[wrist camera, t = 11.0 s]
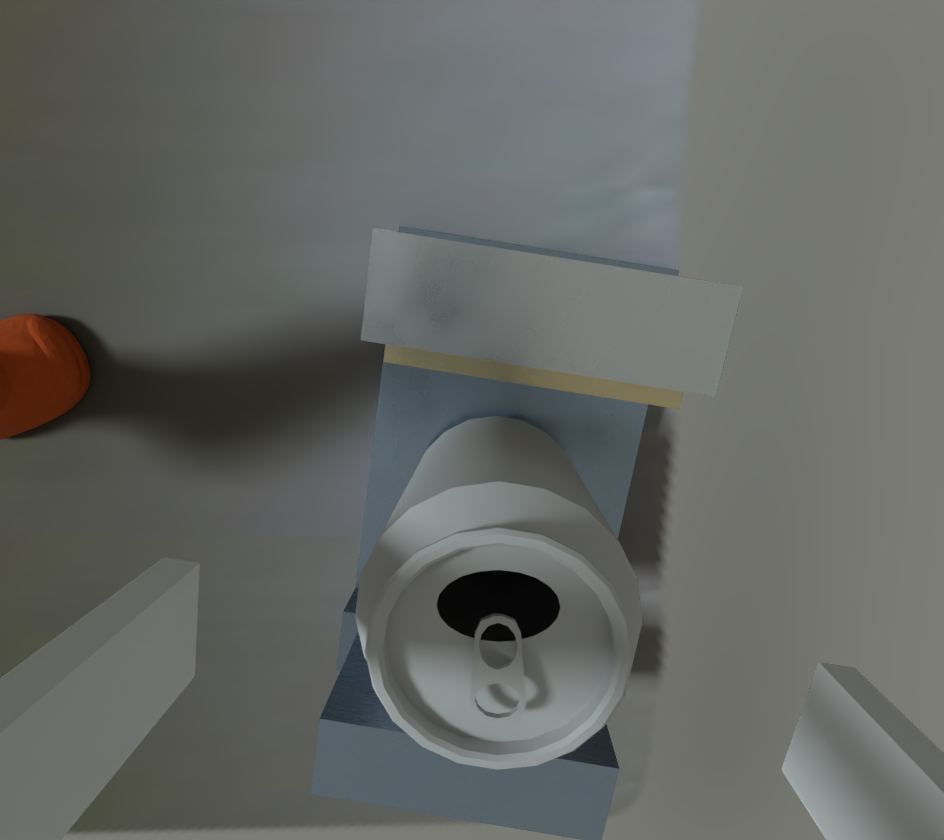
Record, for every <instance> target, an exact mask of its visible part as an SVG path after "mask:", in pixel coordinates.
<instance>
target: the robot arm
mask: <svg viewBox="0 0 944 840" xmlns="http://www.w3.org/2000/svg"><path fill="white" fill-rule="evenodd" d="M199 565H200V563H195V562H189V561H182V560H176V559H170V558H164V557H163V558H162V559H161V560H159V561H158V562H157V563H155V564H154V565H153V566H151V567H150V568H149V569H147V570H146V571H145V572H143V573H142V574H141V575H139V576H138V577H136V578H135V579H134V580H132V581H131V582H130V583H128V584H127V585H126V586H124V587H123V588H122V589H120V590H119V591H118V592H116V593H115V594H114V595H112V596H111V597H109V598H108V599H107V600H105V601H104V602H103V603H101V604H100V605H99V606H97V607H96V608H95V609H93V610H92V611H91V612H89V613H88V614H86V615H85V616H84V617H82V618H81V619H80V620H78V621H77V622H76V623H74V624H73V625H72V626H70V627H69V628H68V629H66V630H65V631H64V632H62V633H61V634H59V635H58V636H57V637H55V638H54V639H53V640H51V641H50V642H49V643H47V644H46V645H45V646H43V647H42V648H41V649H39V650H38V651H37V652H35V653H34V654H32V655H31V656H30V657H28V658H27V659H26V660H24V661H23V662H22V663H20V664H19V665H18V666H16V667H15V668H14V669H12V670H11V671H10V672H8V673H7V674H5V675H4V676H3V677H1V678H0V840H61V839H62V838H63V837H64V835H65V834H66V833H67V832H68V831H69V829H70V828H71V827H72V826H73V824H74V823H75V822H76V821H77V820H78V818H79V817H80V816H81V815H82V813H83V812H84V811H85V810H86V809H87V807H88V806H89V805H90V804H91V802H92V801H93V800H94V799H95V798H96V796H97V795H98V794H99V793H100V791H101V790H102V789H103V788H104V787H105V785H106V784H107V783H108V782H109V780H110V779H111V778H112V777H113V775H114V774H115V773H116V772H117V771H118V769H119V768H120V767H121V766H122V764H123V763H124V762H125V761H126V760H127V758H128V757H129V756H130V755H131V753H132V752H133V751H134V750H135V749H136V747H137V746H138V745H139V744H140V742H141V741H142V740H143V739H144V738H145V736H146V735H147V734H148V733H149V731H150V730H151V729H152V728H153V727H154V725H155V724H156V723H157V722H158V720H159V719H160V718H161V717H162V716H163V714H164V713H165V712H166V711H167V709H168V708H169V707H170V706H171V705H172V703H173V702H174V701H175V700H176V698H177V697H178V696H179V695H180V694H181V692H182V691H183V690H184V689H185V687H186V686H187V685H188V684H189V683H190V681H191V680H192V679H193V678H194V676H195V659H196V635H197V612H198V588H199ZM782 772H783V773H784V775H785V776H786V778H787V779H788V781H789V782H790V784H791V786H792V787H793V789H794V790H795V792H796V793H797V795H798V796H799V798H800V800H801V801H802V803H803V804H804V806H805V807H806V809H807V810H808V812H809V814H810V815H811V817H812V818H813V819H814V821H815V823H816V824H817V826H818V827H819V829H820V831H821V832H822V834H823V835H824V837H825V838H826V840H944V753H943V752H942V751H941V750H940V749H939V748H938V747H937V746H936V745H935V744H934V743H933V742H932V741H931V740H930V739H928V737H927V736H925V735H924V734H923V733H922V732H921V731H920V730H919V729H918V728H917V727H916V726H915V725H914V724H913V723H912V722H911V721H910V720H909V719H908V718H907V717H906V716H905V715H904V714H903V713H901V712H900V711H899V710H898V709H897V708H896V707H895V706H894V705H893V704H892V703H891V702H890V701H889V700H888V699H887V698H886V697H885V696H884V695H883V694H882V693H880V691H879V690H878V689H876V688H875V687H874V686H873V685H872V684H871V683H870V682H869V681H868V680H867V679H866V678H865V677H864V676H863V675H862V674H861V673H860V672H859V671H858V670H857V669H855V668H853V667H847V666H841V665H835V664H828V663H821V662H819V663H818V665H817V668H816V672H815V674H814V677H813V680H812V683H811V686H810V688H809V691H808V694H807V697H806V700H805V703H804V706H803V709H802V711H801V714H800V717H799V720H798V723H797V726H796V729H795V732H794V735H793V737H792V741H791V743H790V746H789V749H788V752H787V755H786V758H785V761H784V763H783V766H782Z"/></svg>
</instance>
